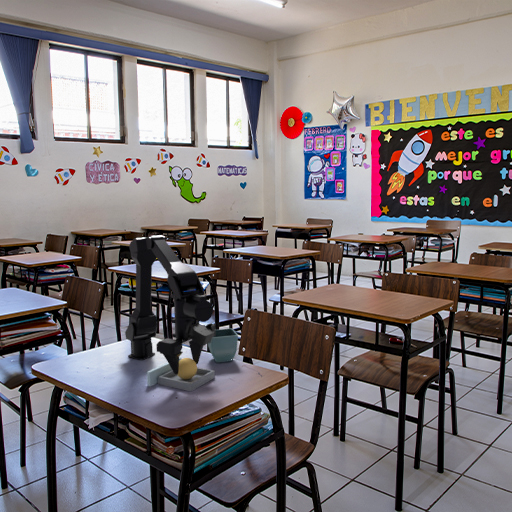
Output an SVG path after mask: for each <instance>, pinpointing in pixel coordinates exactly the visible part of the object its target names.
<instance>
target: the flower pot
mask: <svg viewBox="0 0 512 512" xmlns="http://www.w3.org/2000/svg"><path fill="white" fill-rule="evenodd" d="M215 330H216V331H215V333H216V335H215V336H213V337H212V340H211V343H207V345H208V349H209V352H210V354H211V356H212V358H213V359H214V361H215V363H216V364H217V363H224V362H232V361H233V360H234V359H235V357H236V353H237V349H238V342H239V340H238V339H239V335H238V333H237V332H236V331H235V330H234V328H221V329H215ZM231 359H232V360H231Z"/></svg>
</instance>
